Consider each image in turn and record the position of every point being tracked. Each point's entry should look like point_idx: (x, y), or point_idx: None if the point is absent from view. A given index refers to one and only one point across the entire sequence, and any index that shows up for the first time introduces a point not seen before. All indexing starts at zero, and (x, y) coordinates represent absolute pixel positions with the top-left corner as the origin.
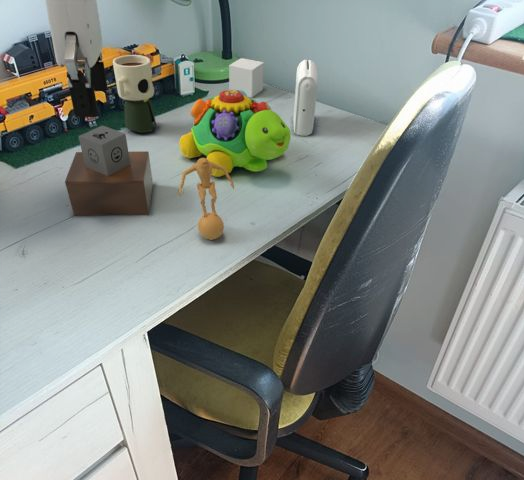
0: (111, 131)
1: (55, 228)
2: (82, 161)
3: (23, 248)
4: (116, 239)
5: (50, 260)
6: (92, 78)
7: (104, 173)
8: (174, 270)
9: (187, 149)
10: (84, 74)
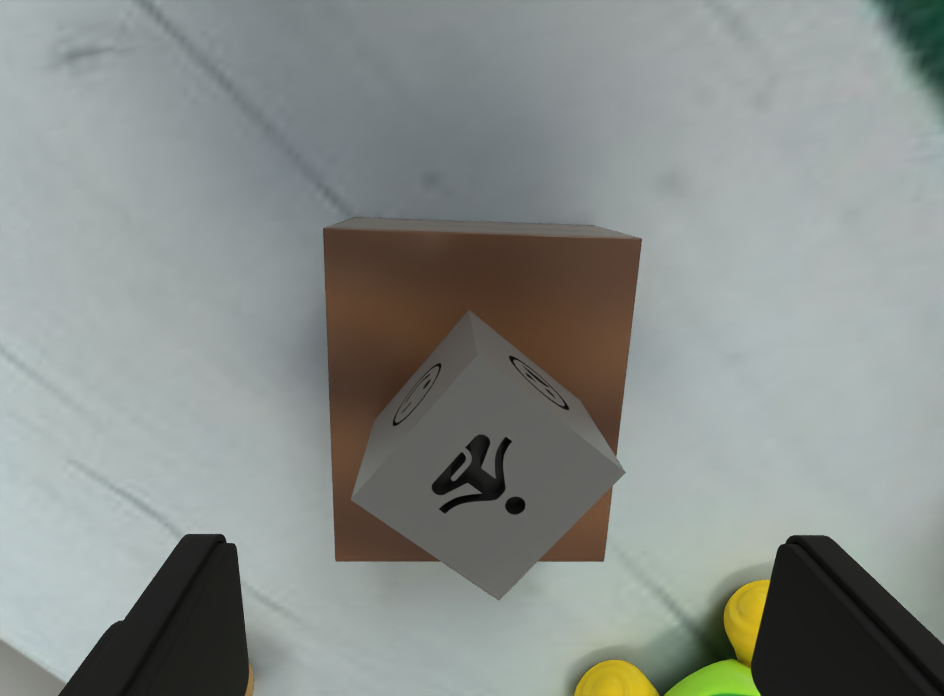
0: (534, 529)
1: (261, 155)
2: (531, 286)
3: (111, 46)
4: (198, 388)
5: (44, 172)
6: (832, 682)
7: (385, 408)
8: (42, 566)
9: (738, 624)
10: (877, 654)
